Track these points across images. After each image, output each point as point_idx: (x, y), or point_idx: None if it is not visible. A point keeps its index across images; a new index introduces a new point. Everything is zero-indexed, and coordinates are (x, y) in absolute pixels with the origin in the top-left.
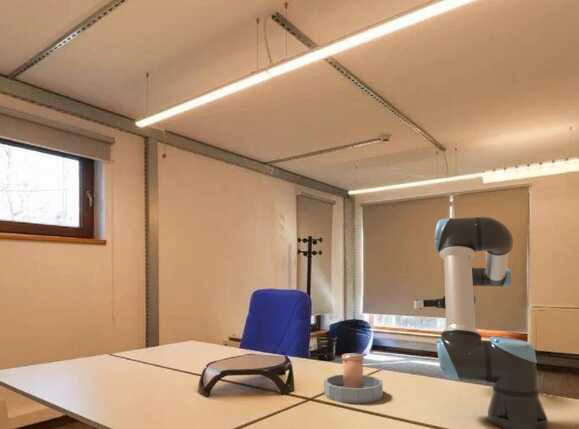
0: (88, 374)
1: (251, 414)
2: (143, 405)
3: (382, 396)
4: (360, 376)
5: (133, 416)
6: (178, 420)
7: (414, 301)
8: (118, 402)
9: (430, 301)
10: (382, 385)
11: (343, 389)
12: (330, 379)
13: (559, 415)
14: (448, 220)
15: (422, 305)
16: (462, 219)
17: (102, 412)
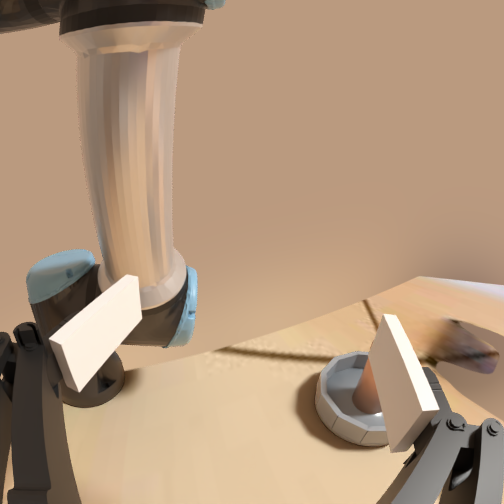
0: None
1: (383, 310)
2: (446, 294)
3: (319, 416)
4: (361, 375)
5: (424, 284)
6: (401, 288)
7: (392, 316)
8: (458, 292)
9: (389, 500)
10: (329, 411)
11: (353, 352)
12: None
13: None
14: None
15: (395, 423)
16: None
17: (440, 282)
